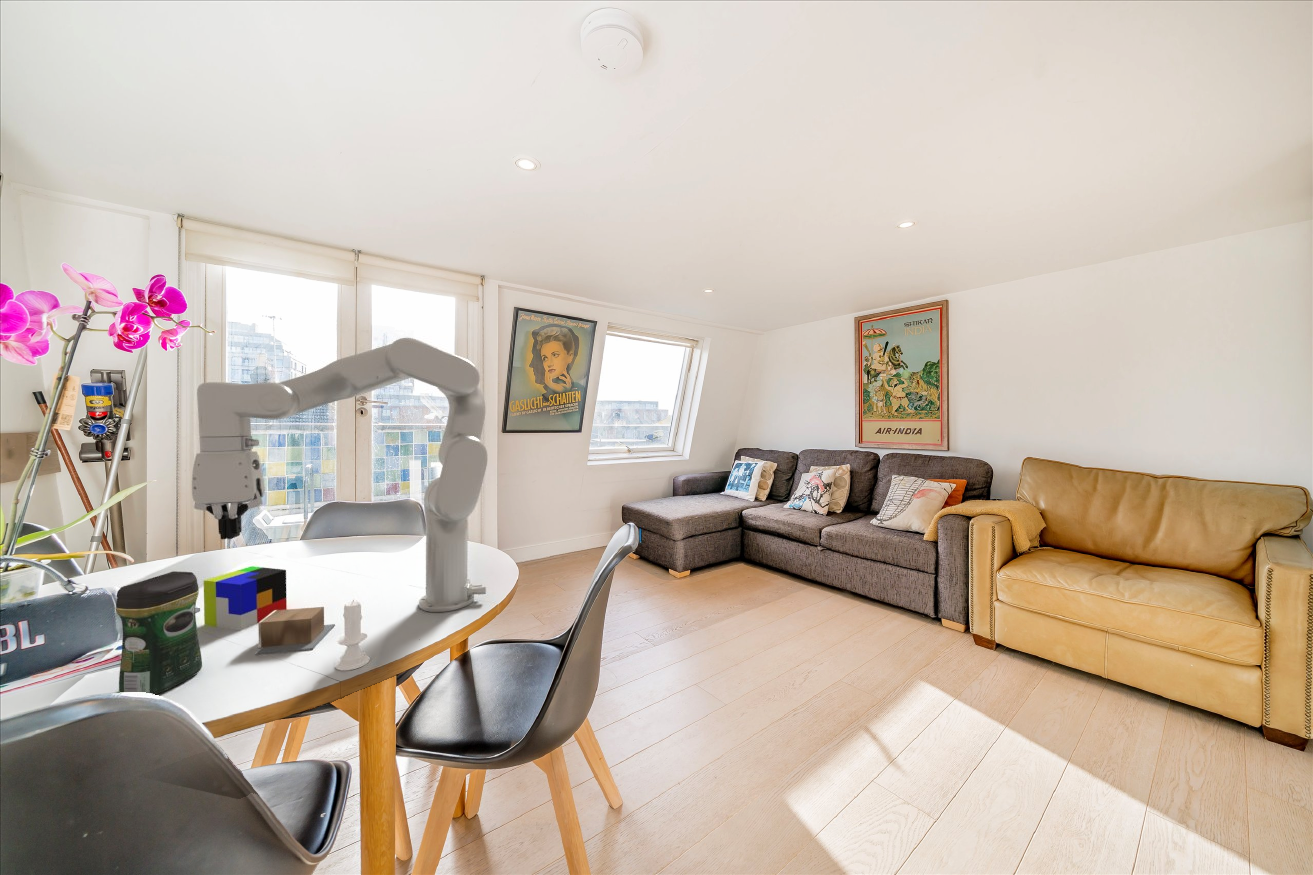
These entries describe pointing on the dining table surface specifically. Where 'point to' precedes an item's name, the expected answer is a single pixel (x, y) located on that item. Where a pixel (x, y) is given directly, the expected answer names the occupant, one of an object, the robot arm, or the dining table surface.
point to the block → (291, 626)
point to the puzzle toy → (244, 597)
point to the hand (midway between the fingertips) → (230, 537)
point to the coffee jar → (158, 632)
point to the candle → (352, 639)
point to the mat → (296, 646)
